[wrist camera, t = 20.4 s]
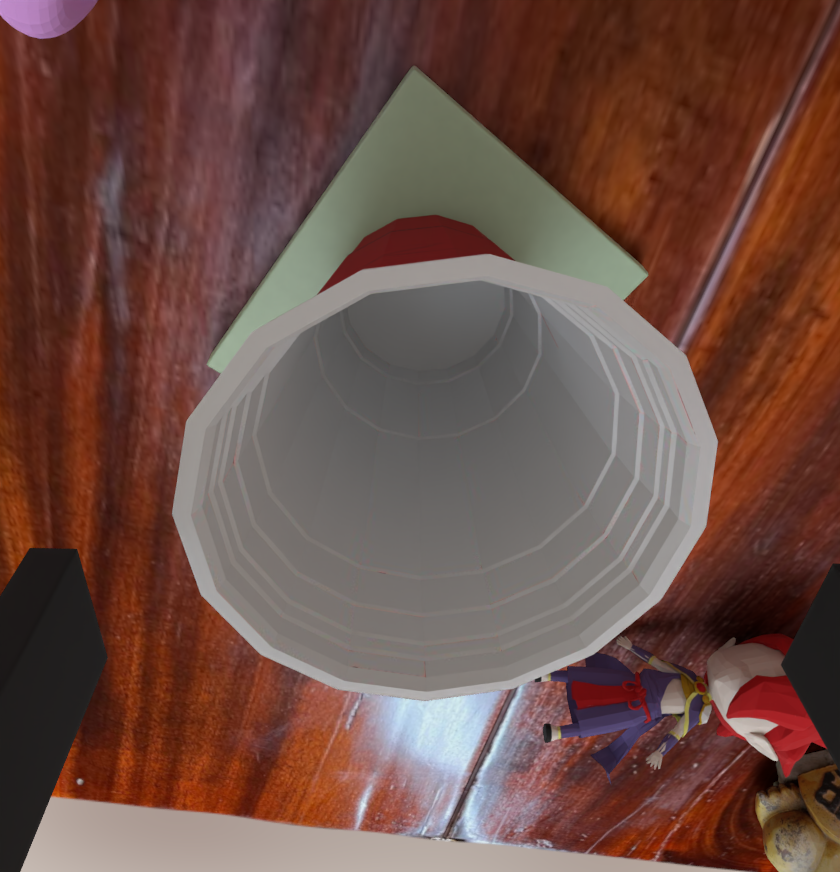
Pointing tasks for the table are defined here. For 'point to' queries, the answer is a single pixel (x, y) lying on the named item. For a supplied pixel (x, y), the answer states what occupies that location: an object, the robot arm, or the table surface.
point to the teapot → (45, 15)
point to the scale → (432, 207)
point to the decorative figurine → (803, 816)
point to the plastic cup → (444, 471)
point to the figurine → (689, 701)
